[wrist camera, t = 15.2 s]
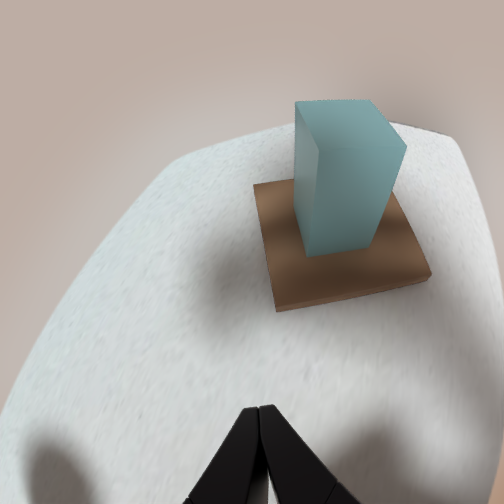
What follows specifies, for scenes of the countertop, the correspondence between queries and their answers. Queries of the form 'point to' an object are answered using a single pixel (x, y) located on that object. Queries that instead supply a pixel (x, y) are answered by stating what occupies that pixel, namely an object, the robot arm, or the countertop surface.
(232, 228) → the countertop surface
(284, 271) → the post board
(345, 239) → the teal rectangular prism
